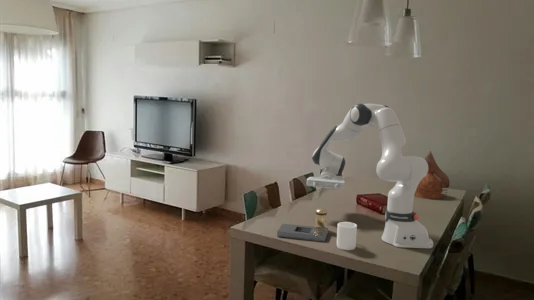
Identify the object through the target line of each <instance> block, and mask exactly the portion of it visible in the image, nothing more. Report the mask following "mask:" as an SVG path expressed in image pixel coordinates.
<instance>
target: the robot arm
mask: <svg viewBox="0 0 534 300" xmlns="http://www.w3.org/2000/svg"><path fill="white" fill-rule="evenodd" d="M365 127H375V129H376V133H377V136H378V138H379V139H378V140H379V142H380V145H381V157H380V159H379V161H378V162H377V164H376V169H375V170H376V175H377V176H378V178H379V179H380V180H381V181H385V182H390V183H395V182H396V183H395V185H394V187H392V188H391V189H390V190H389V191H388V193H387V207H386V209H385V214H384V215H385V216H384V220H385V224H384V229H383V233H382V235H381V240H382V241H383V242H385V243H387V244H389V245H392V246H394V247H396V248H406V249H407V248H409V249H411V248H412V249H432V248H433V247H434V241H433V239H431V237H429V232H428V230H427V228H426V227H425V226H424V225H423V224H422V223H421V222H419V221H418V220H419V215H418V214H417V213H416V212H415V211H413V208H414V199H415V196H414V194H415V191H416V188H417V186H418V184H419V183H420V181H421V180H422V179H423V178H424V177H425V176H426V175H427V173H428V164H427V162H426V160H425V157H420V156H416V155H408V156H406V155H405V156H403V154H402V153H403V152H402V150H403V148H404V147H405V145H406V144H407V143H406V142H407V139H406V136H405V134H404V130H403V128H402V125H401V122H400V120H399V118H398V116H397V114H396V112H395V111H394V109H393V108H391V107H390V106H388V105H386V104H377V103H357V104H354V105H353V106H352V107H351V108H350V110H349V111H347V114H346V115H345V116H344V119H343V122H341V123H340V124H339V125H336V126H335V125H334V127H332V128H331V130H330V131H329V132H328V133H327V135H326V136H325V137H324V139H323V140H322V142H321V143H320V145H319V146H318V147H317V148H316V149H315V150H314V151H313V153H312V156H311V158H312V162H313V163H314V165H318V166H321V167H322V168H324V169H322V171H321V173H320V175H319V176H309V177H307V178H306V186H308V187H313V188H323V189H326V190H327V189H332V190H336V189H337V190H345V189H346V179H345V178H344V175H342V173H343V171H344V168H345V167H346V159H345V157H344V156H342V155H341V154H338V153H336V152H333V151H332V150H329V149H328V147H329V146H330V144H331V143H332V142H333V141H346V142H350V141H354V140H357V139H358V138H359V137H360V136H361V135H362V132H363V131H364V128H365Z"/></svg>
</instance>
